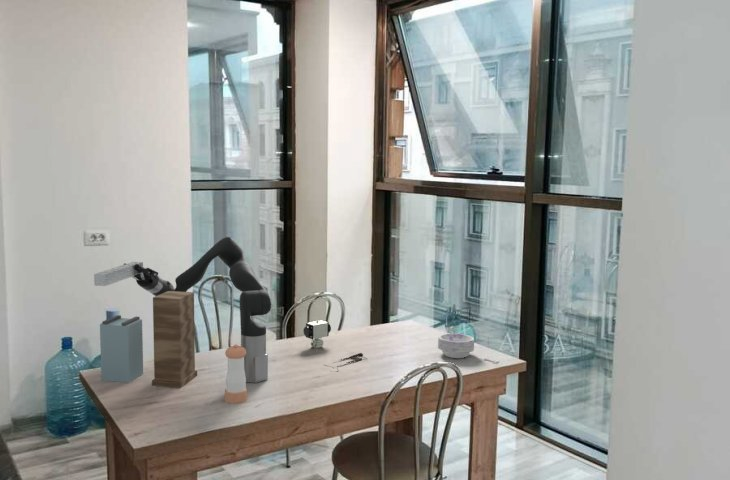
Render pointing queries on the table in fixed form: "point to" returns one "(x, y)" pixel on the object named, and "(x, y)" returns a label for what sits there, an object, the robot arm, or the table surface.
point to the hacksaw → (354, 357)
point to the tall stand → (173, 339)
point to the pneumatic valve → (317, 332)
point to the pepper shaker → (235, 375)
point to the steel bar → (116, 274)
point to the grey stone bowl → (456, 345)
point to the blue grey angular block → (121, 349)
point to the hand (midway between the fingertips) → (130, 266)
